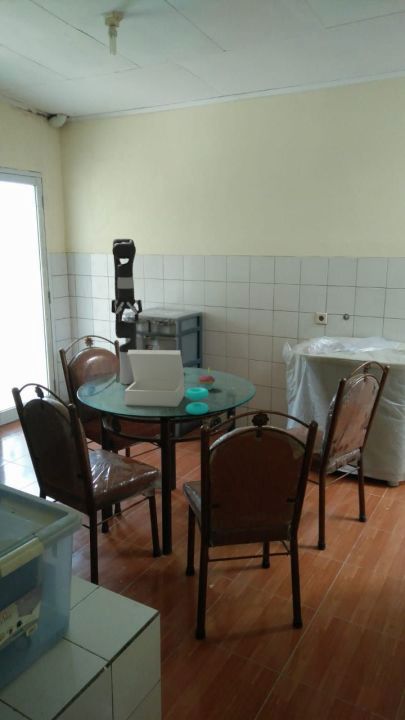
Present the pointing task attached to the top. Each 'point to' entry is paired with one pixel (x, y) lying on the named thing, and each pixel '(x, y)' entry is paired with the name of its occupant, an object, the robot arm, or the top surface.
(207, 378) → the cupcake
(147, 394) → the mailer base
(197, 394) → the donuts
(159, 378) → the lid
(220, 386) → the top surface
